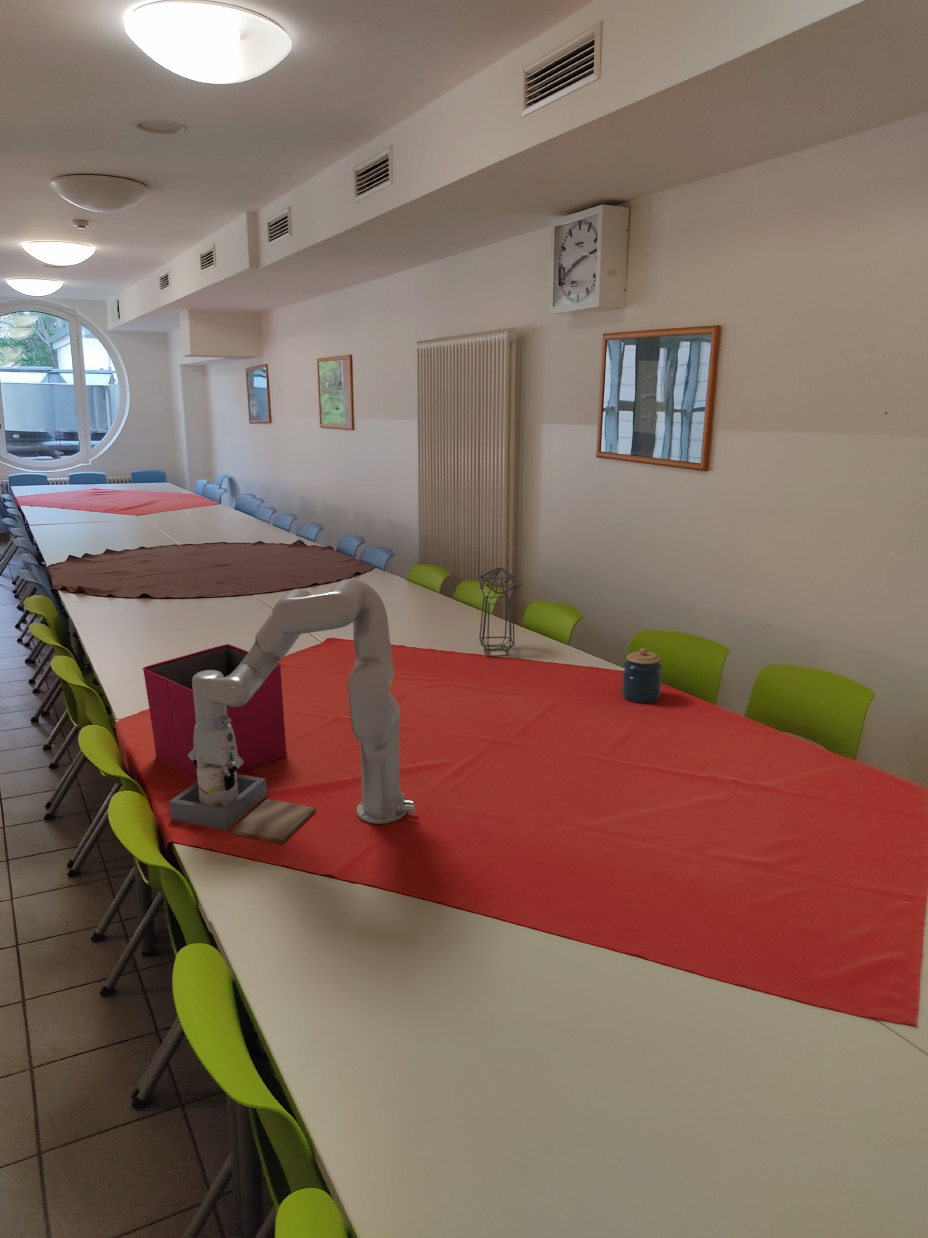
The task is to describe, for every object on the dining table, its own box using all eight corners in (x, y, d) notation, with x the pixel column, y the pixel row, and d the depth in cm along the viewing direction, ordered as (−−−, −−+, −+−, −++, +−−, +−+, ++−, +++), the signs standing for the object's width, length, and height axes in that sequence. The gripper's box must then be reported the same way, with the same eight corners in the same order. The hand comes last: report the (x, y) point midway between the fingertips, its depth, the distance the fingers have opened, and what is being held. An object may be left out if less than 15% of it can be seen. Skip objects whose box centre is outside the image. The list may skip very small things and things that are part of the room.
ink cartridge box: (211, 817, 204) (206, 763, 200) (199, 811, 207) (194, 757, 203) (240, 804, 210) (235, 751, 206) (228, 798, 213) (223, 746, 209)
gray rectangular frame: (266, 796, 214) (265, 778, 213) (226, 830, 198) (224, 811, 197) (214, 787, 219) (212, 770, 218) (171, 819, 203) (169, 801, 202)
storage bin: (203, 790, 218) (193, 690, 210) (151, 759, 236) (139, 665, 228) (290, 756, 237) (284, 663, 230) (235, 729, 256) (228, 642, 248)
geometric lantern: (474, 647, 334) (476, 563, 325) (512, 647, 336) (516, 563, 327) (479, 659, 319) (482, 571, 310) (519, 659, 321) (523, 571, 312)
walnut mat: (315, 811, 207) (315, 807, 207) (282, 843, 192) (282, 840, 192) (267, 802, 211) (267, 799, 211) (231, 833, 197) (230, 830, 196)
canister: (657, 690, 287) (660, 642, 282) (662, 704, 274) (665, 654, 270) (619, 689, 288) (622, 641, 283) (623, 703, 276) (625, 653, 271)
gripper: (250, 719, 203) (256, 784, 208) (191, 710, 208) (198, 774, 213) (233, 730, 196) (239, 798, 201) (172, 721, 201) (179, 787, 206)
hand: (218, 785), depth 207 cm, fingers closed on ink cartridge box, 6 cm apart
